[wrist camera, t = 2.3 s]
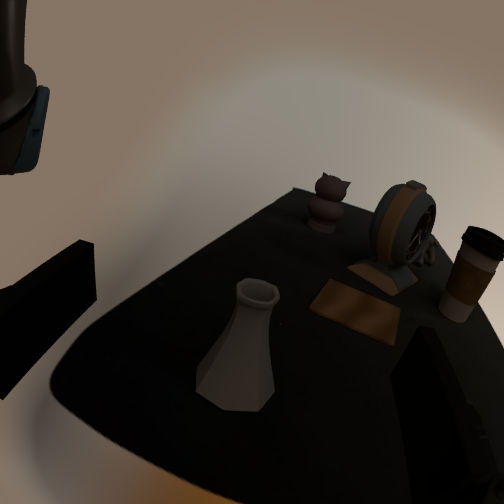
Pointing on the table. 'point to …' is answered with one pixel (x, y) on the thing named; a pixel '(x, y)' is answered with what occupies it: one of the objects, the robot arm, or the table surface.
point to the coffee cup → (471, 272)
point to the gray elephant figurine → (428, 251)
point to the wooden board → (357, 311)
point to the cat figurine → (327, 203)
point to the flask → (241, 353)
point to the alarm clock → (397, 236)
